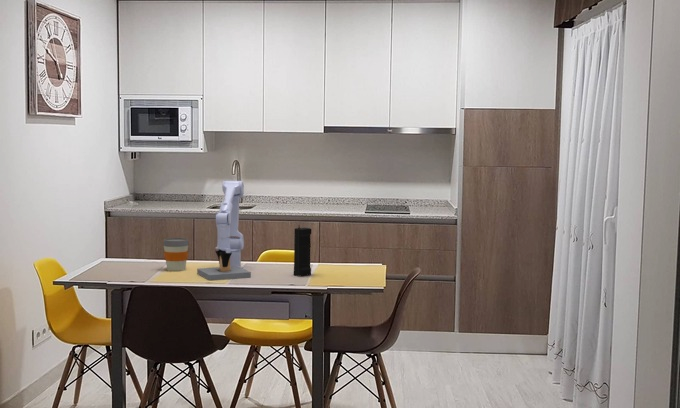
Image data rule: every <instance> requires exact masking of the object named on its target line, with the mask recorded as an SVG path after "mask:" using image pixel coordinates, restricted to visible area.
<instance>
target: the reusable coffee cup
mask: <svg viewBox="0 0 680 408" xmlns="http://www.w3.org/2000/svg"><path fill="white" fill-rule="evenodd" d="M162 244H163V245H162V246H163V249H164V250H163V255H164V261H165V264H166V271H169V272H183V271H185V270H186V269H187V261H188V257H189V245H190V243H189V238H185V237H171V238H165V239H163V243H162Z"/></svg>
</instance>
